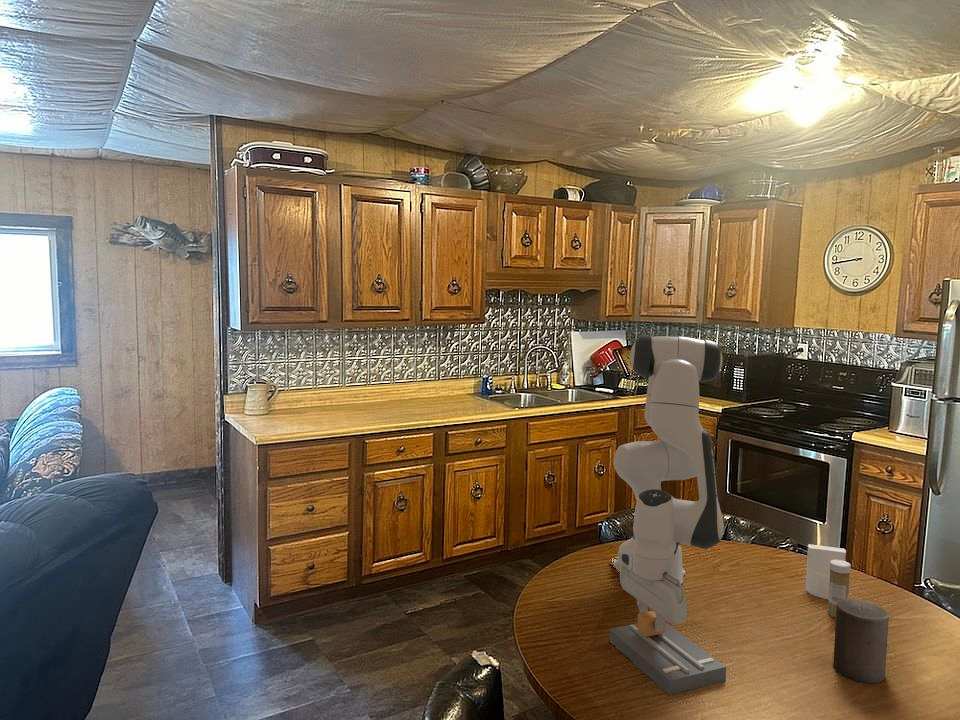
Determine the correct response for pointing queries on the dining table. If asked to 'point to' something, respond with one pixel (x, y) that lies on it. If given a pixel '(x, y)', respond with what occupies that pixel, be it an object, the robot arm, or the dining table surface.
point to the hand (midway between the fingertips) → (651, 624)
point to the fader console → (668, 658)
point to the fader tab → (648, 624)
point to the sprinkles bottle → (838, 584)
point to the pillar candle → (861, 640)
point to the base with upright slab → (821, 568)
